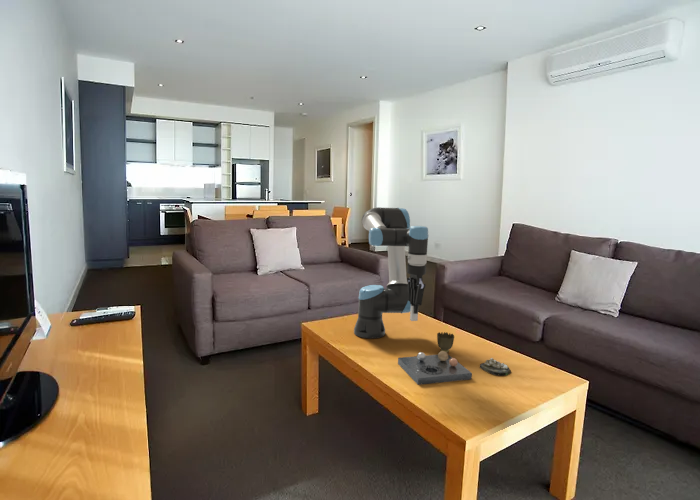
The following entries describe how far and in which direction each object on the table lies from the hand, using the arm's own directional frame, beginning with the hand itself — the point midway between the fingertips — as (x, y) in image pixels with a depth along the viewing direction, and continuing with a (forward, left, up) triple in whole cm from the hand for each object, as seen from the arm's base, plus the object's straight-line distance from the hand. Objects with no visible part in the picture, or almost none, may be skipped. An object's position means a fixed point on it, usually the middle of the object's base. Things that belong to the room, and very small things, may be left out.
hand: (413, 320), depth 175 cm
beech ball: (+11, +9, -12) cm, 18 cm away
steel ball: (+9, 0, -12) cm, 15 cm away
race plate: (+14, +3, -16) cm, 22 cm away
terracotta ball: (+16, +10, -12) cm, 23 cm away
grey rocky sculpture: (+18, +28, -17) cm, 37 cm away
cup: (-3, +17, -17) cm, 24 cm away
